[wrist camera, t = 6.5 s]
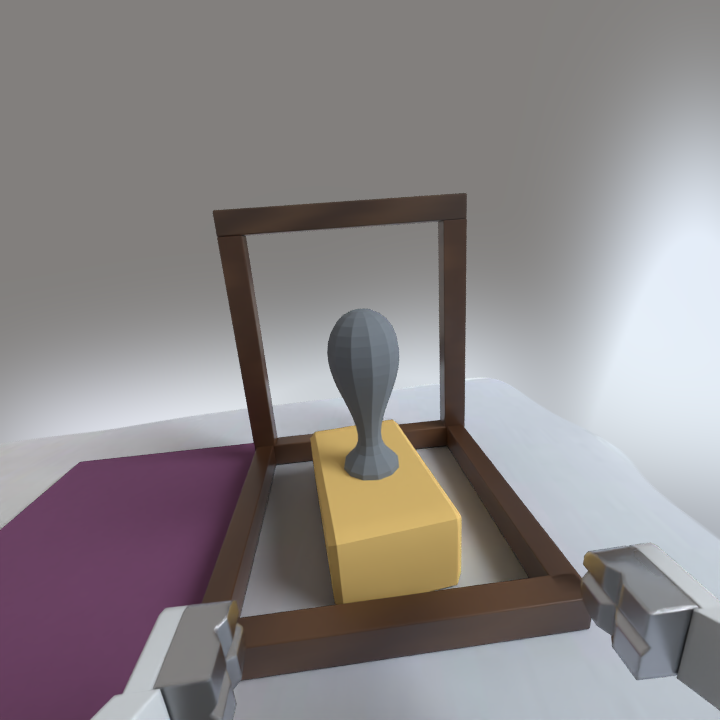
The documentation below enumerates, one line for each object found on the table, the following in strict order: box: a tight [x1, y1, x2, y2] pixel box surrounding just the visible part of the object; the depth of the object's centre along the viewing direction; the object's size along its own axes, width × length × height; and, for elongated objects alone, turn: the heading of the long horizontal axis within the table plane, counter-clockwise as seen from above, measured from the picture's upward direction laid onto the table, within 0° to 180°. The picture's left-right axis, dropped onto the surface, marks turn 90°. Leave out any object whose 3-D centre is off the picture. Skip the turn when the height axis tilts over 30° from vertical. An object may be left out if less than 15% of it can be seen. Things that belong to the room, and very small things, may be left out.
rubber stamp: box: [310, 309, 461, 605], centre depth 19 cm, size 10×6×12 cm, turn 12°
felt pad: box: [0, 443, 255, 720], centre depth 20 cm, size 14×20×1 cm
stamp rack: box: [201, 193, 591, 680], centre depth 18 cm, size 16×15×18 cm
